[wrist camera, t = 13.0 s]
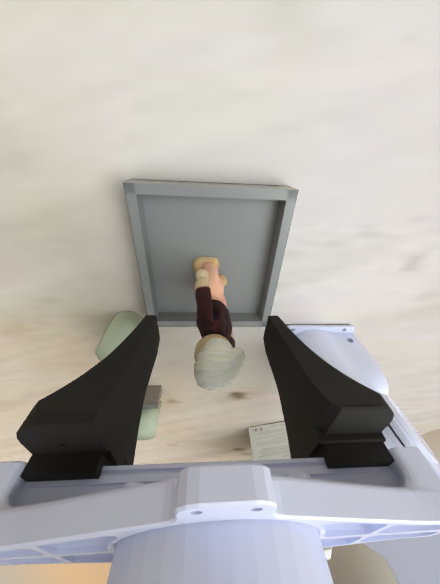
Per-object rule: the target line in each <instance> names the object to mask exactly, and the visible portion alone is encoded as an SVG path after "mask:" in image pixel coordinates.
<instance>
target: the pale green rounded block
mask: <svg viewBox="0 0 440 584" xmlns="http://www.w3.org/2000/svg"><path fill="white" fill-rule="evenodd" d="M142 319H143V317H142V316H141V315H139V314H138V313H135V312H132V311H122V312H119V313H117V314H116V315H115V316H114V318H113V320H112V322H111V323H110V325H109V327H108V329H107V330H106V332H105V334H104V336H103V337H102V339H101V341H100V343H99V344H98V346H97V348H96V356H97V357H98V359H99V360H100V361H102V360H103V359H104V358H105V357H107V356H108V355H109V354H110V353H111V352H112V351H113V350H114V349H115V348H116V347H118V346H119V345H120V344H121V343H122V342H123V341H124V340H125V339H126V337H127V336H128V335H129V334H130V333H131V332H132V331H133V330H134V329H135V328H136V326H137V325H138V324H139V323H140V322H141V321H142Z"/></svg>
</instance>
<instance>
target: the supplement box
mask: <svg viewBox="0 0 440 584" xmlns="http://www.w3.org/2000/svg"><path fill="white" fill-rule="evenodd" d="M248 431H249V437H250V444H251V451H252V458H253V460H272V459H291V456H290V449H289V443H288V437H287V431H286V426H285V421H283V422H277V423H272V424H266V425H260V426H255V427H249V428H248ZM323 550H324V553H325V557H326V560H327V559H330V558H331V551H332V547H325V548H323Z"/></svg>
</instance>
